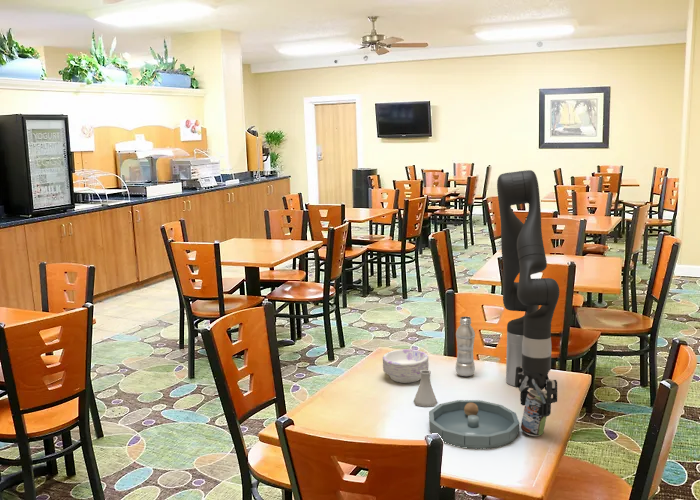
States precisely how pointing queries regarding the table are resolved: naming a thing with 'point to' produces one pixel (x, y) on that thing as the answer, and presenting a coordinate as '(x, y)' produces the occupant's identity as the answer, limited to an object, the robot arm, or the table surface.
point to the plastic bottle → (465, 348)
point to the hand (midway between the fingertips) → (534, 410)
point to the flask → (425, 391)
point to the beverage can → (533, 415)
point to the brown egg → (471, 409)
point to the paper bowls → (405, 365)
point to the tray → (474, 437)
